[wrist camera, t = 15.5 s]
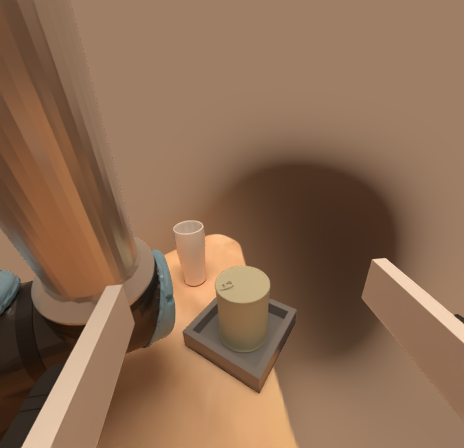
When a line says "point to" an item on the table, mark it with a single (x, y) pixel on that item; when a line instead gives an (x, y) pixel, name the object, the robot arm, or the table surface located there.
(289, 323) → the tray
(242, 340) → the can
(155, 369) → the table surface
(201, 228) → the drinking glass
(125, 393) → the table surface
